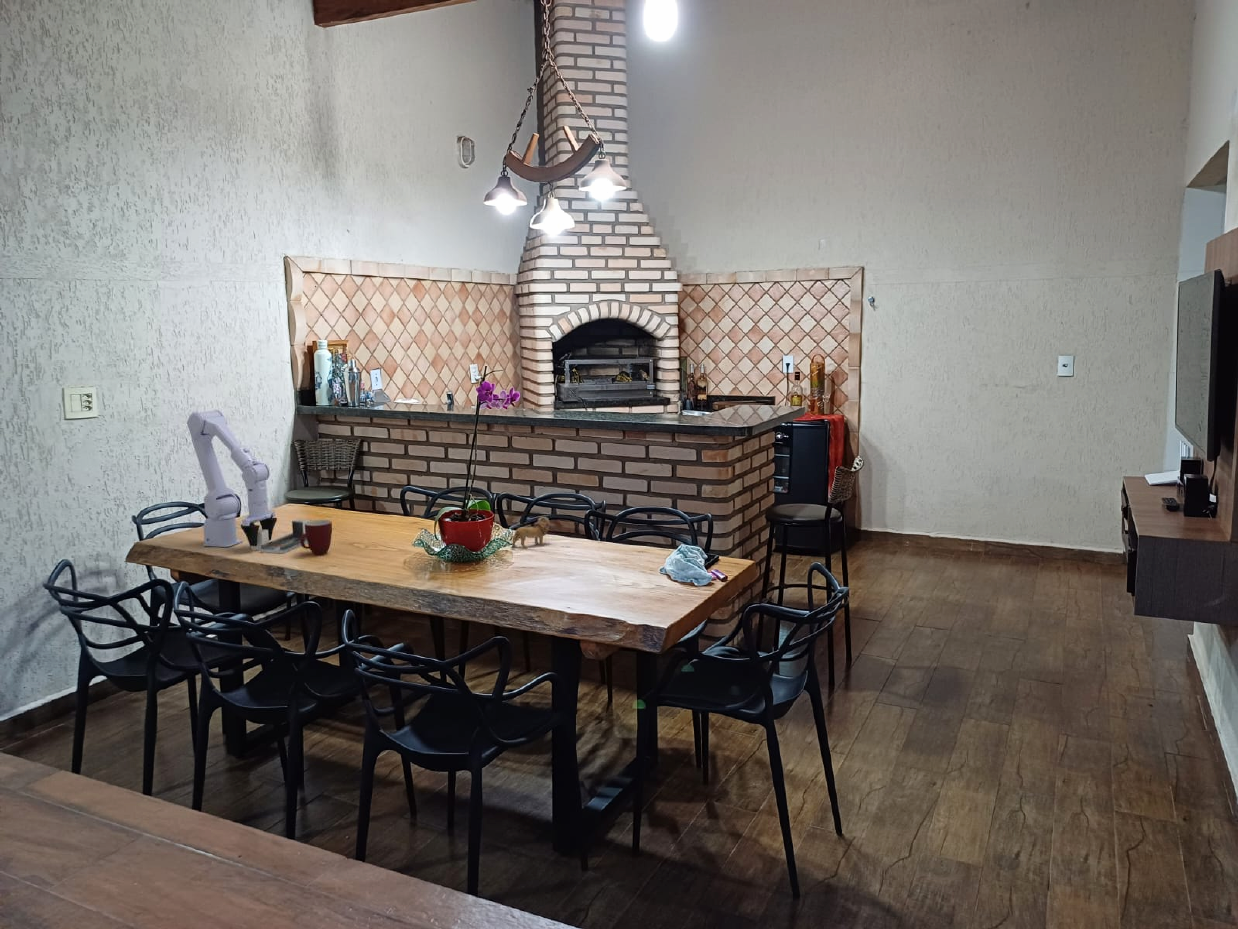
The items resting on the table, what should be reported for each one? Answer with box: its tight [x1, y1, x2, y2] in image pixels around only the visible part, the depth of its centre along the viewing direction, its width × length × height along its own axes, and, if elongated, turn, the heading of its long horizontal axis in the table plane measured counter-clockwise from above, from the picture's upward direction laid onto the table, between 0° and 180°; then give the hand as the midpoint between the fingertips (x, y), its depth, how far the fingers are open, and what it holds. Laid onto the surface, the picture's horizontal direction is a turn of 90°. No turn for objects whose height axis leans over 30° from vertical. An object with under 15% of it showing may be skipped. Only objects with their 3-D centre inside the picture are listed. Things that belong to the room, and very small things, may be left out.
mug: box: [300, 519, 333, 556], centre depth 276 cm, size 10×8×10 cm
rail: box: [260, 518, 310, 554], centre depth 288 cm, size 8×19×7 cm, turn 168°
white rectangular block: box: [250, 528, 269, 551], centre depth 284 cm, size 4×4×6 cm
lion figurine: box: [510, 516, 550, 549], centre depth 286 cm, size 15×5×9 cm, turn 130°
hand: (260, 543), depth 284 cm, fingers open, 7 cm apart
